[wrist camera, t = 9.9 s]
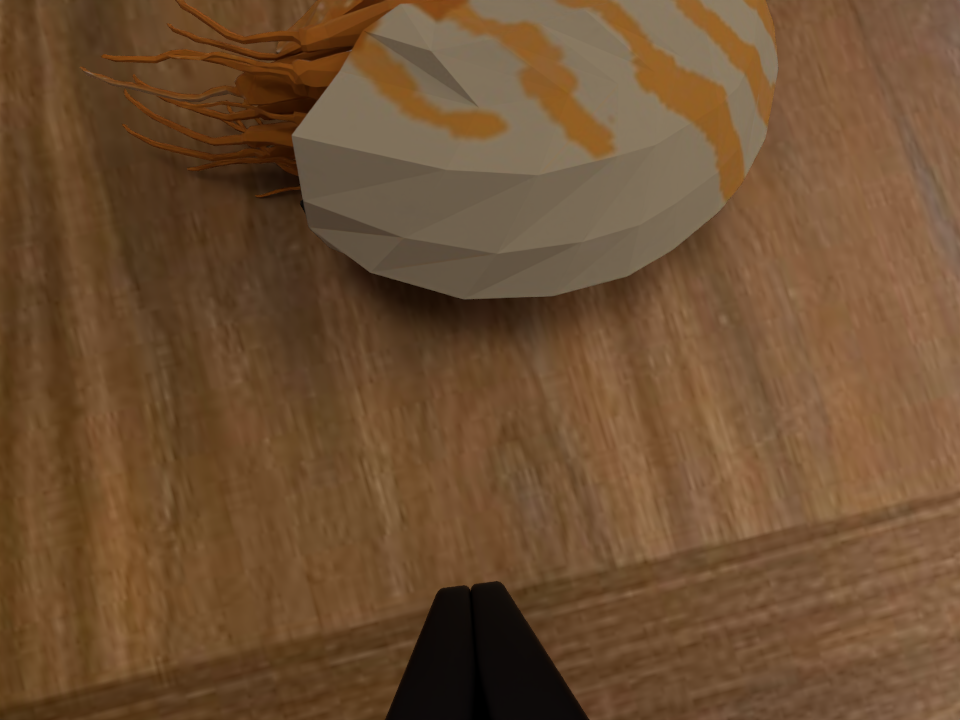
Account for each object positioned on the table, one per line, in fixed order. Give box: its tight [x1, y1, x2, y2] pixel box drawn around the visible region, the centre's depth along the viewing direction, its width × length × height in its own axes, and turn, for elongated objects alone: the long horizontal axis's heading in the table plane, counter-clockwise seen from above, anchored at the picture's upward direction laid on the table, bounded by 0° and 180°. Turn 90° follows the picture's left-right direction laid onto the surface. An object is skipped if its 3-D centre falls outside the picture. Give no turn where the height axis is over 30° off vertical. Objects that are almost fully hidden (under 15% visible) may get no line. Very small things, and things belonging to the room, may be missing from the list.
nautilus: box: [80, 0, 778, 299], centre depth 22 cm, size 8×22×15 cm
